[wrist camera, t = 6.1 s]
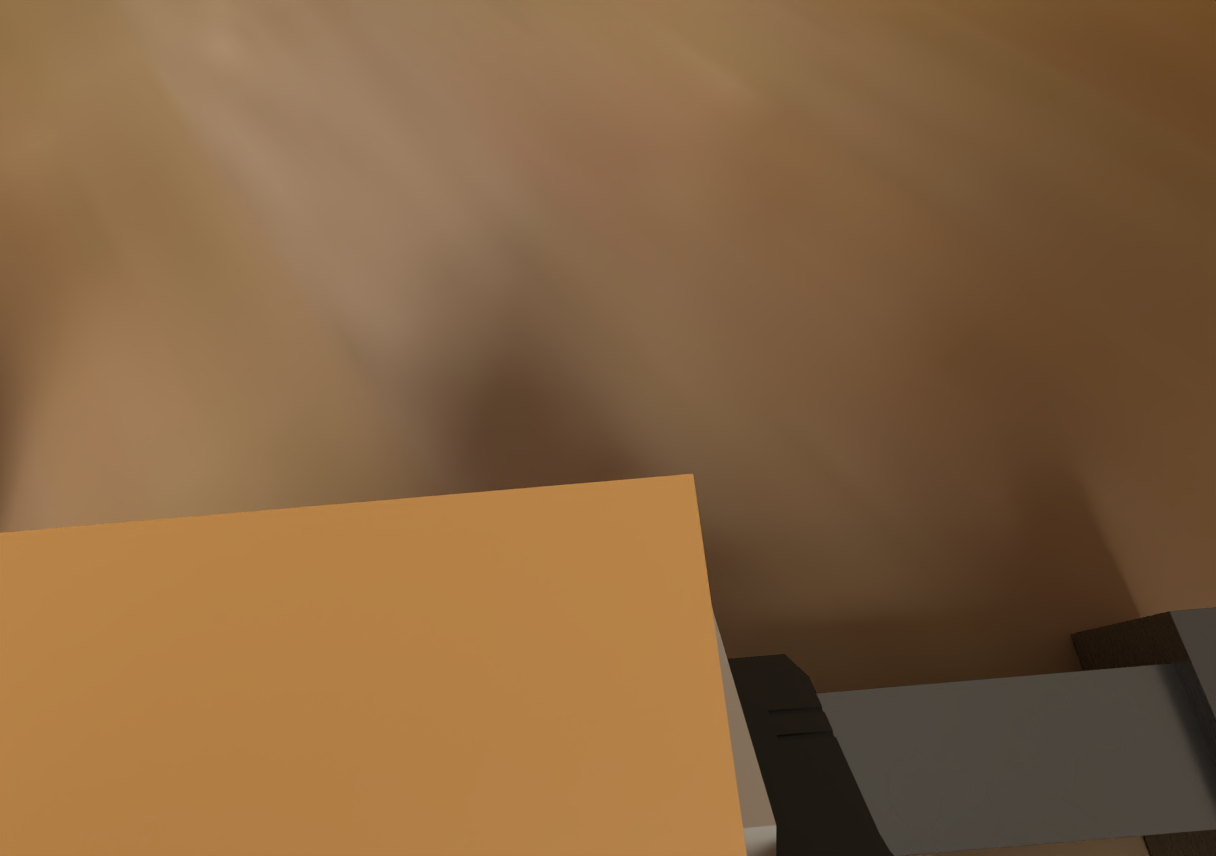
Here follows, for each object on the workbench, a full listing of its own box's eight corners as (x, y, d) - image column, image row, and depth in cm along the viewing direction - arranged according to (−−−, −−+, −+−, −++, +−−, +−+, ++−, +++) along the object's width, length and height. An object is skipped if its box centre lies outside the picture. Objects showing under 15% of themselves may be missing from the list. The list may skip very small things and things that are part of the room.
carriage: (649, 656, 17) (687, 432, 4) (675, 920, 15) (917, 2080, 2) (457, 672, 17) (-54, 494, 4) (451, 939, 15) (-690, 2202, 2)
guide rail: (1148, 627, 17) (1264, 603, 14) (1240, 854, 15) (1403, 886, 12) (-36, 727, 17) (-188, 725, 14) (-111, 966, 15) (-310, 1028, 12)
